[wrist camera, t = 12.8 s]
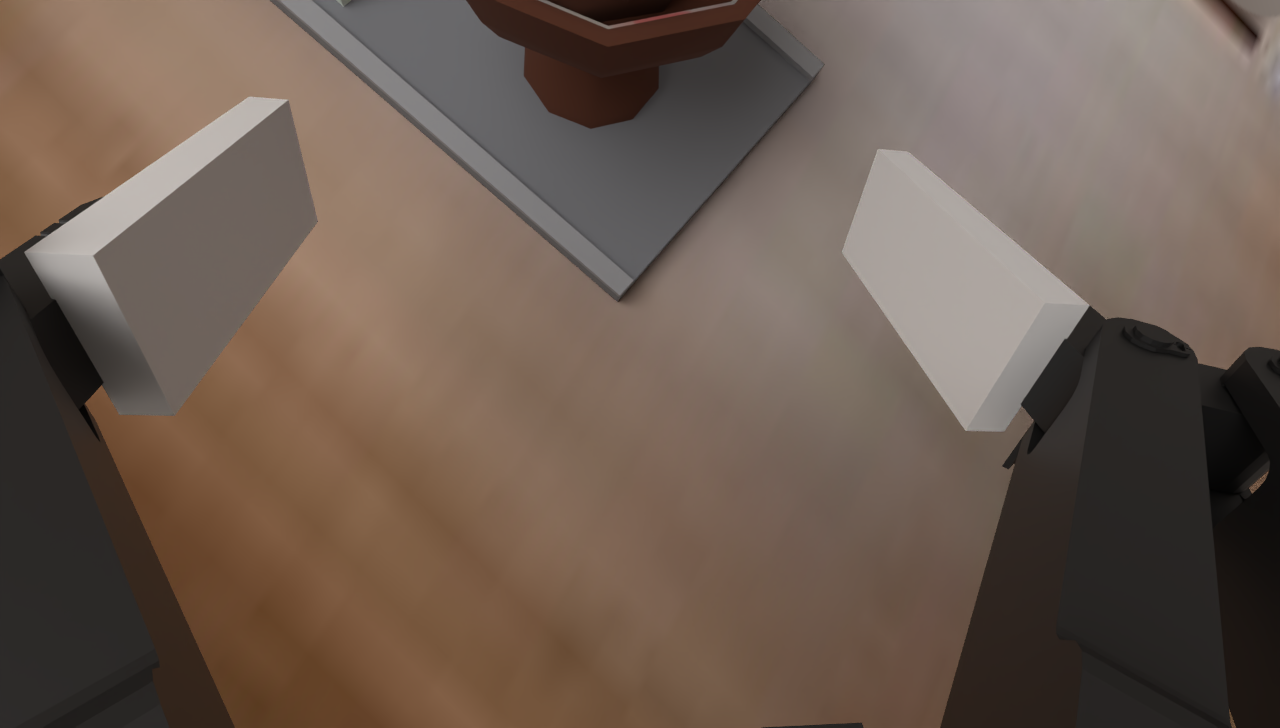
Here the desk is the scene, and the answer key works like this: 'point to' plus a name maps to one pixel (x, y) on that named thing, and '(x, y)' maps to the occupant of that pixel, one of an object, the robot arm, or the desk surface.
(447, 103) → the tray
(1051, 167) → the desk surface
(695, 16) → the ice cream bowl
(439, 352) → the desk surface
